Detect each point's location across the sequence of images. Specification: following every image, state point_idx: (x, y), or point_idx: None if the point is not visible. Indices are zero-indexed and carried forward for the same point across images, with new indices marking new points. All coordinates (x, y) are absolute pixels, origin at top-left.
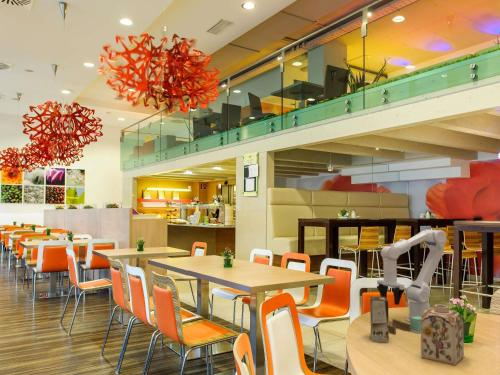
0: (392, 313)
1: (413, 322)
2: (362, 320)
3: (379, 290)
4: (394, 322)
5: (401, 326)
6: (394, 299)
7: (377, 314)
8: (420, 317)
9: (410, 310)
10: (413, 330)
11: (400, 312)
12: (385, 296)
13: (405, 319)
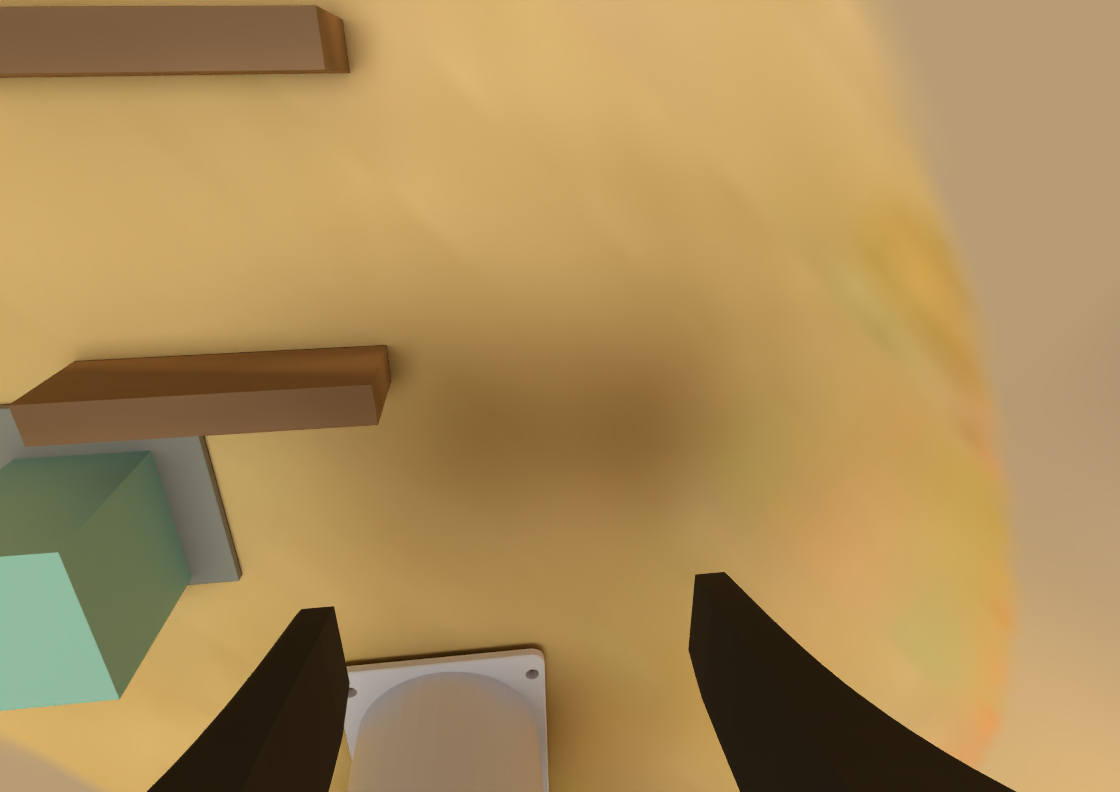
0: None
1: (29, 515)
2: (843, 179)
3: (908, 764)
4: (326, 372)
5: (192, 371)
6: (278, 694)
7: None
8: (21, 676)
9: (462, 787)
10: None
11: None
12: (730, 726)
13: (531, 656)
